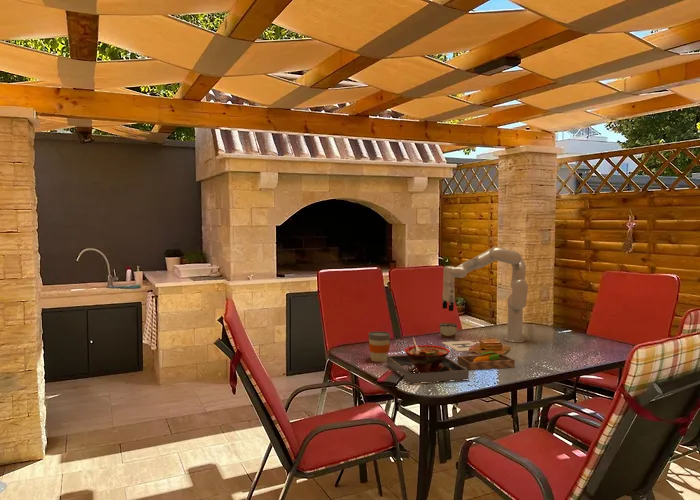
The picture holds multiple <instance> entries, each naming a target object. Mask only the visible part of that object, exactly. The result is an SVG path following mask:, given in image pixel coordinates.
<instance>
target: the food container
mask: <svg viewBox="0 0 700 500" xmlns="http://www.w3.org/2000/svg"><path fill="white" fill-rule="evenodd" d="M438 327H439V330H440V331H439V332H440V339H441V340H456V336H457V329H458V324H457V323H453V322H441V323H439V326H438Z"/></svg>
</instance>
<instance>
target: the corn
mask: <svg viewBox="0 0 700 500" xmlns="http://www.w3.org/2000/svg"><path fill="white" fill-rule="evenodd" d="M498 354H499V353H497V352H495V351H492V350H491V351H490V350H489V351H485V352H481V353H480V354H479V355H481V356H479V357H477V358H475V359H474V361H473V362H482V361H498V360H499V359H500V356H499V355H498Z"/></svg>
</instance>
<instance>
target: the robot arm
mask: <svg viewBox="0 0 700 500" xmlns="http://www.w3.org/2000/svg"><path fill="white" fill-rule="evenodd" d="M495 261H497V262H501V263H506V264H509V265H511V268H512V273H511V280H510V288H511V289H512V291H511V294H510V295H509V296H508V297H507V334H506V336H505V337H504V341H506V342H510V343H523V342H525V339H526V338H529V336H530V335H529V334H523V322H524V321H523V320H524V319H523V317H524V315H523V314H524V311H523V310H524V308H525V307H526V304H527V300H528V299H527V298H528V293H529V292H528V291H529V290H528V289H529V284H528V282H527V281H526V273H527V265H526V263H525V260H524V258H523V256H522V255H521V254H520V253H519V252H518V251H515V250H508V249H505V248H501V247H498V246H493V247H491V248H489V249H487V250H485V251H483V252H482V253H480V254H478V255H476V256H474V257H472V258H470V259H468V260H466V261H464V262H462V263H461V264H458V265H457V266H453V265H447V266H446V265H445V266H444V267H443V275H442V277H443V279H442V280H443V281H442V286H443V287H442V288H443V289H442V295H441V297H442V309H443V310H444V309H445V310H447V309H448V311H449V312H453V311H454V305H455V302H456V301H455V300H456V294H455V293H456V292H455V291H456V289H455V280H456V279H455V278H458V279H459V278H460V279H462V278H465V277H466V276H467V274H468V273H470V272H473V271H475V270H477V269H482V268H484V267H486V266H489V264H492V263H493V262H495ZM448 304H449V305H448Z"/></svg>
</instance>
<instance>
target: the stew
mask: <svg viewBox="0 0 700 500" xmlns="http://www.w3.org/2000/svg"><path fill="white" fill-rule="evenodd" d="M412 339H413V340H412V342H413V345H412V346H408V347H407V348H405V349H404V352H405V354H406V355H408V357H409V358H410V359H411V361H412V362H413V363H412V364H409V365H407V370H408V371H410V373H411V372H412V373H413V372H415V373H419V372H420V373H427V372H442V371H451V368H449V367H448V366H447V365H445V364H440V363H441V362H442V361H443V359H444V358H445V357H447V356H448V355H449V353H450V349H449V348H447V347H444V346H441V345H432V344H431V345H430V344H425V345H424V344H423V345H420V344H419V345H418V344H417V341H416V339H415V337H414V336H412ZM412 365H414V367H413V368H412ZM416 368H417V369H416ZM414 369H416V370H417V371H416V370H415V371H413V370H414Z"/></svg>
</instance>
